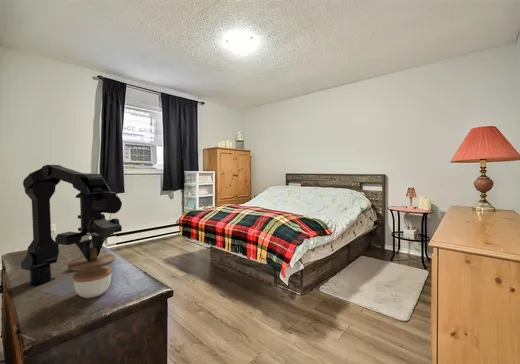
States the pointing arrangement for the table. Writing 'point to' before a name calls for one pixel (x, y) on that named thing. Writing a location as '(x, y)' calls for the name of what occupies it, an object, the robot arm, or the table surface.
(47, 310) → the table surface
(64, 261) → the table surface
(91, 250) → the lid
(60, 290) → the mat
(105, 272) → the lidded jar
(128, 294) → the table surface
